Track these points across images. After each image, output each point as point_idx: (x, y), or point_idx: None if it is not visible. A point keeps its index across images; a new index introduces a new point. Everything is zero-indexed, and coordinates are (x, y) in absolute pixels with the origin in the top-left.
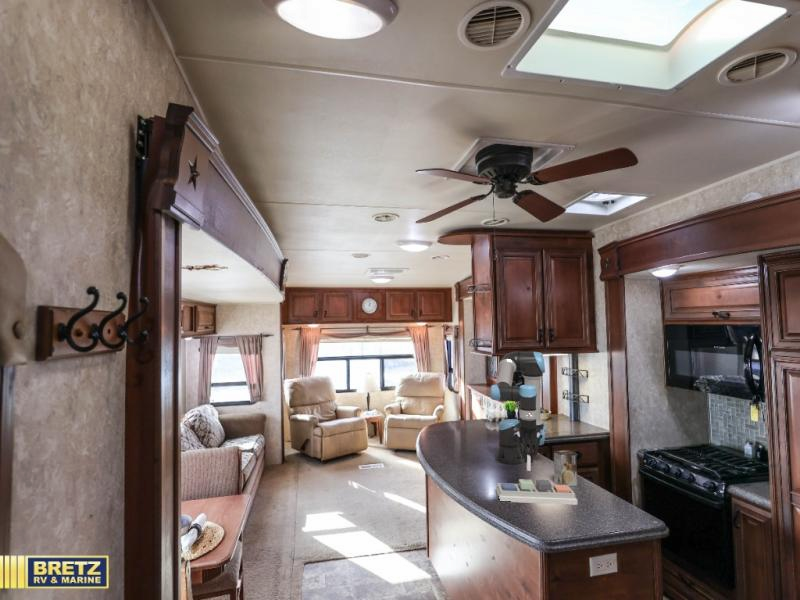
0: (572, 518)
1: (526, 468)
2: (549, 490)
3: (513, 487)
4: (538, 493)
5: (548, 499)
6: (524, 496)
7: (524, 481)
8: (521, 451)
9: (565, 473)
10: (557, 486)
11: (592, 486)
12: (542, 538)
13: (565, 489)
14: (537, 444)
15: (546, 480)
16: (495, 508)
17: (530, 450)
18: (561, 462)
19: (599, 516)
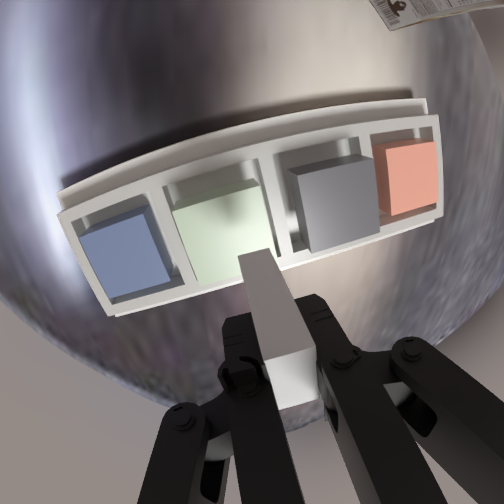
0: (377, 327)
1: (239, 262)
2: (347, 138)
3: (156, 281)
4: (293, 261)
5: (331, 254)
6: None
7: (215, 241)
8: (207, 479)
9: (446, 16)
10: (399, 172)
11: (473, 26)
12: None
13: (424, 203)
14: (479, 484)
15: (362, 167)
16: (128, 359)
17: (347, 464)
18: (479, 9)
19: (447, 280)
